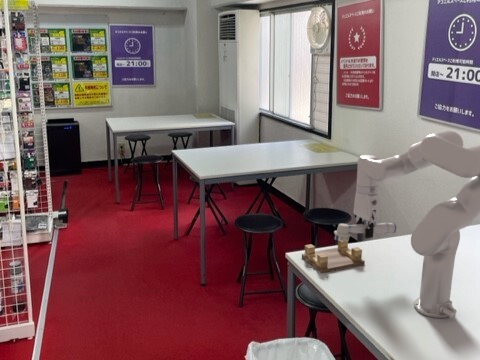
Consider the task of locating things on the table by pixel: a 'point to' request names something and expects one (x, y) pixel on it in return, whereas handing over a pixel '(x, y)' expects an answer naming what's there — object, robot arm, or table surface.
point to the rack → (333, 257)
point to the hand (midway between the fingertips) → (364, 234)
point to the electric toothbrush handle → (361, 230)
